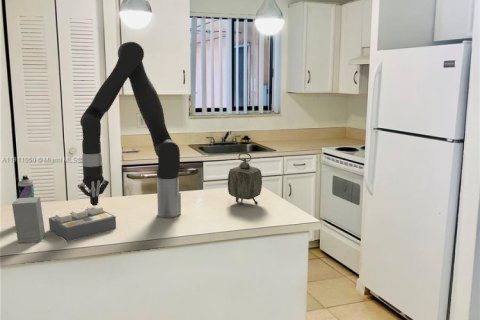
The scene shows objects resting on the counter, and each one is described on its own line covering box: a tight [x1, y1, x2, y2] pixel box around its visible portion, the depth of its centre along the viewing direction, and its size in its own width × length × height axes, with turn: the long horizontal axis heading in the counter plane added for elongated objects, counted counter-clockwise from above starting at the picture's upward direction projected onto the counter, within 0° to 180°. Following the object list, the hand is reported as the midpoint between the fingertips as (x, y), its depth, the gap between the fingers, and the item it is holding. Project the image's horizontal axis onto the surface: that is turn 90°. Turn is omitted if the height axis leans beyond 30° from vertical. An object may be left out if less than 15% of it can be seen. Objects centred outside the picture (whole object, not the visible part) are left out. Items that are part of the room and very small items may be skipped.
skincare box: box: [11, 196, 46, 244], centre depth 162 cm, size 8×7×16 cm
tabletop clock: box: [227, 152, 263, 206], centre depth 206 cm, size 14×9×25 cm, turn 58°
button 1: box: [55, 211, 72, 223], centre depth 170 cm, size 4×4×3 cm
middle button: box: [71, 208, 88, 219], centre depth 175 cm, size 4×4×3 cm
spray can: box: [17, 175, 35, 198], centre depth 178 cm, size 6×6×20 cm
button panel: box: [48, 208, 117, 242], centre depth 174 cm, size 20×16×5 cm
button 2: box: [86, 204, 104, 215], centre depth 179 cm, size 4×4×3 cm
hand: (94, 205), depth 179 cm, fingers closed
